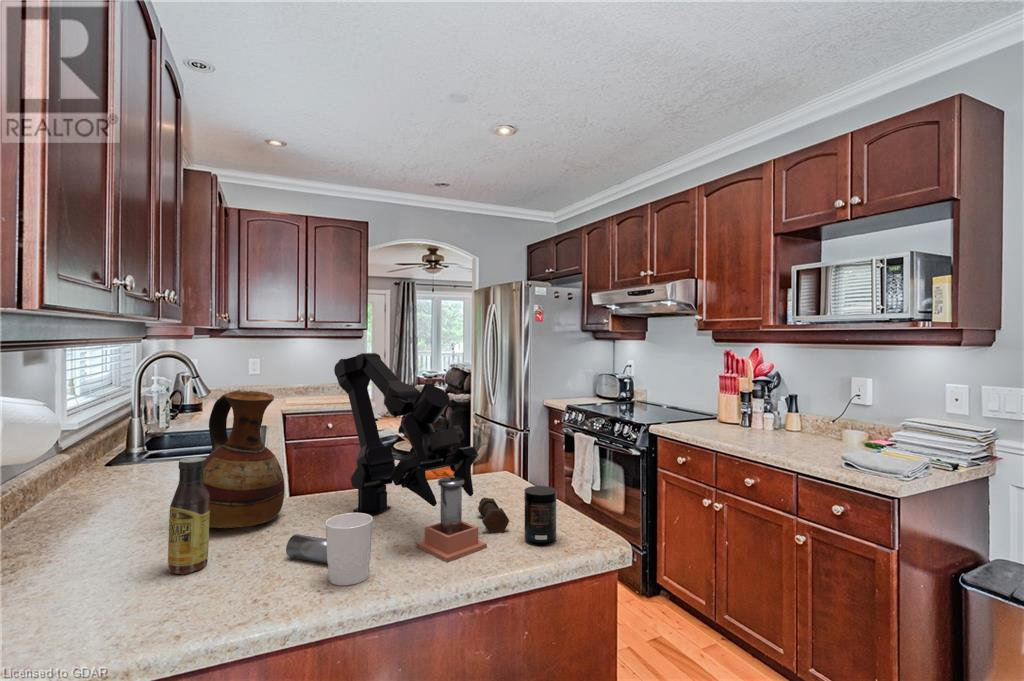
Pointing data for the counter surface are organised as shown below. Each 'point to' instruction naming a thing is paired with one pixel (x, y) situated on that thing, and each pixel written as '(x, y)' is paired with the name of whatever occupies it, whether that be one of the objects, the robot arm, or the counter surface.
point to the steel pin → (451, 504)
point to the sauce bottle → (189, 519)
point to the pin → (307, 548)
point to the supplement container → (540, 515)
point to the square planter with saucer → (451, 542)
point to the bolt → (493, 516)
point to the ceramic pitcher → (241, 464)
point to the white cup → (348, 547)
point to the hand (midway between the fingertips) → (454, 500)
